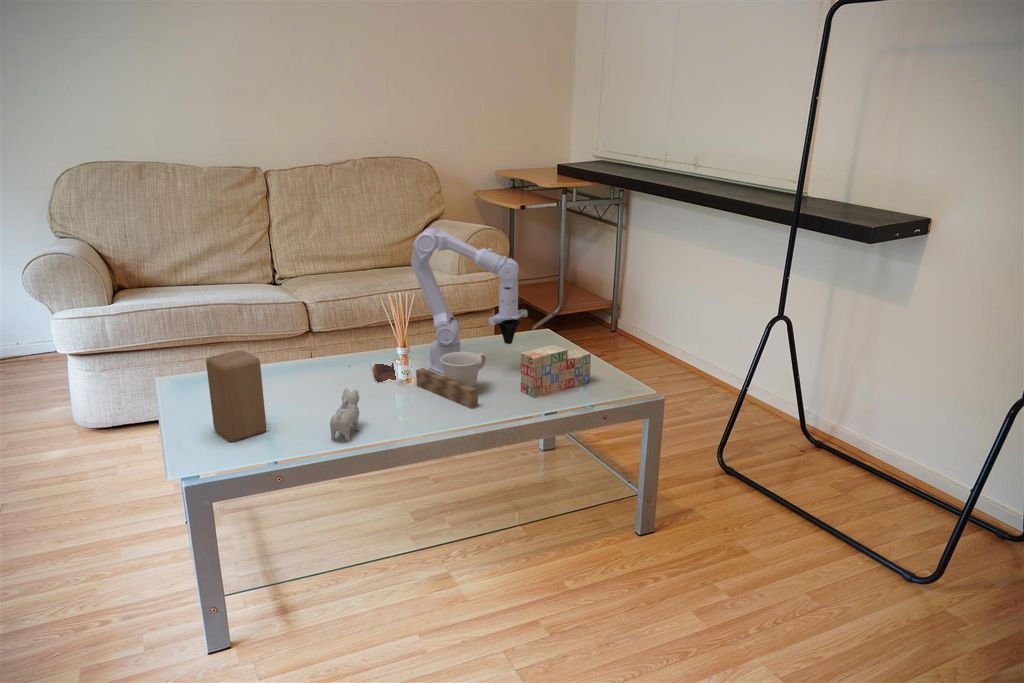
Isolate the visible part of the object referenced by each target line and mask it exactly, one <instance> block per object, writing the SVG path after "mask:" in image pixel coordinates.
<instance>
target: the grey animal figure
mask: <svg viewBox="0 0 1024 683" xmlns="http://www.w3.org/2000/svg"><path fill="white" fill-rule="evenodd" d="M359 401H360V395H359V390H357V389H353V390H352V391H349V388H345V389H343V392H342V395H341V402H342V404H341V405H339V408H338V409H337V410H336V412H335V414H334V415H332V417H331V418H330V422H329V427H330V436H331V439H330V440H331V441H332V440H335V441H336V434H337V432H340V433H341V434H343V436H344V437H345V438H344V439H345V440H344V442H346V441H348V443H349V442H351V438H350V426H351V425H352V426H353V428H354V431H355V430H359V431H361V428H360V425H359V417H360V410H359V407H358V403H359Z"/></svg>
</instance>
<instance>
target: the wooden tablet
mask: <svg viewBox="0 0 1024 683" xmlns="http://www.w3.org/2000/svg"><path fill="white" fill-rule="evenodd" d="M393 365H394V364H393V363H392V365H391V366H392V367H391V366H388V365H384V364H375V365H374V367H373V370H372V373H373V377H374V380H375V382H376V381H377V382H383V381H386V380H388V379H391V380H396V376H395V370H394V366H393ZM377 382H376V383H377Z"/></svg>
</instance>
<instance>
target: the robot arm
mask: <svg viewBox="0 0 1024 683" xmlns="http://www.w3.org/2000/svg"><path fill="white" fill-rule="evenodd" d="M435 250H437V251H438V252H443V251H447V250H449V251H452V252H454V253H457V254H459V255H462V256H464V257H466V258H468V259H471V260H473V261H474V263H475V266H476V267H478V268H480V269H483V270H485V271H487V272H489V273H491V274H494V275H496V276H497V275H498V278H499V285H498V313H497V314H495V315H493V316H491V317H489V318H488V325H490V326H496V325H497V326H498V328H499V329H500V331H501V335H502V338H503V343H504V344H507V345H511V344H513V341H514V337H515V334H516V331H517V329H518V327H519V326H520V324H521V322H520V320H519V319H521V318H526V317H528V310H527V309H524V308H523V309H519V285H518V283H519V278H518V275H519V271H520V267H519V263H518V262H517V261H516V260H514V259H513V258H511V257H509V258H508V257H507V256H505V255H503V256H502V255H500V254H497V253H495V252H493V249H492V248H490V247H488V248H481V249H478V248H476V247H474V246H472V245H470V244H468V243H467V242H464V241H463V240H461V239H459V238H457V237H455V236H453V235H451V234H449V233H447V232H445V231H443V230H439V229H438V228H435V227H427V228H425V229H424V230H423V231H422V232H421V233H419V234H418V235H417V236H416V238H415V240H414V242H413V243H412V252H411V259H410V266H411V268H412V270H413V272H414V274H415V277H416V279H417V282H418V284H419V287H420V288H421V290H422V293H423V296H424V298H425V301H426V303H427V305H428V307H429V310H430V313H431V315H432V317H433V327H434V329H435V338H436V339H435V340H434V341H433V342H432V343H431V345H430V348H429V356H430V357H429V358H430V365H429V366H428V370H429V369H430V370H431V371H433V372H434V371H435V372H436V373H437V372H438V374H441V375H444V371H443V365H442V362H441V361H440V357H441V356H443V355H445V354H447V353H452V352H461V340H460V338H459V337H458V335H459V334H460V332H461V324H460V322H459V321H458V320H457V319H456V318H455V317H454V315H453V313H452V312H451V311H450V310H449V308H448V305H447V303H446V301H445V299H444V296H443V294H442V292H441V288H440V287H439V286H440V285H439V284H438V282H437V279H436V277H435V275H434V272H433V269H432V266H431V265H430V260H431V258H432V256H433V254H434V252H435Z"/></svg>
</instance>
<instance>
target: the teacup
mask: <svg viewBox="0 0 1024 683" xmlns="http://www.w3.org/2000/svg"><path fill="white" fill-rule="evenodd" d="M486 360H487V357H486V355H485V354H484V353H483V352H479V353H478V354H477V353H474V352H469V351H460V352H452V353H447V354H445V355H443V356H441V357H440V361H441V362H442V365H443V371H444V374H443V376H445V377H446V378H448V379H451V380H455V381H458V382H460V383H463V384H465V385H468V386H471V387H473V388H474V386H475V385H476V384H477V380H478V375H479V371H480V370H481V369H482V368H484V367H485V365H486V362H487V361H486Z"/></svg>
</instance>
